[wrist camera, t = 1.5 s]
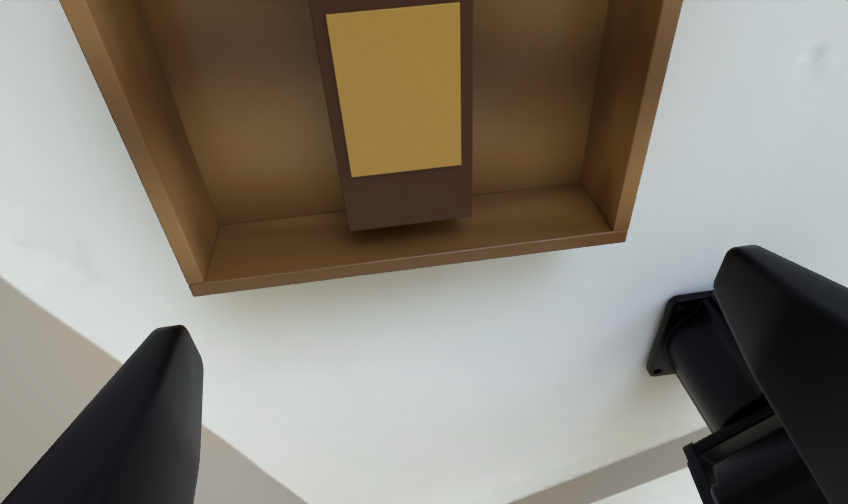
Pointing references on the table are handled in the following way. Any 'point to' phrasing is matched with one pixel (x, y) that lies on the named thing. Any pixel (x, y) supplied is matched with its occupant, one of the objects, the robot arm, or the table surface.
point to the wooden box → (313, 144)
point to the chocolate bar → (399, 106)
